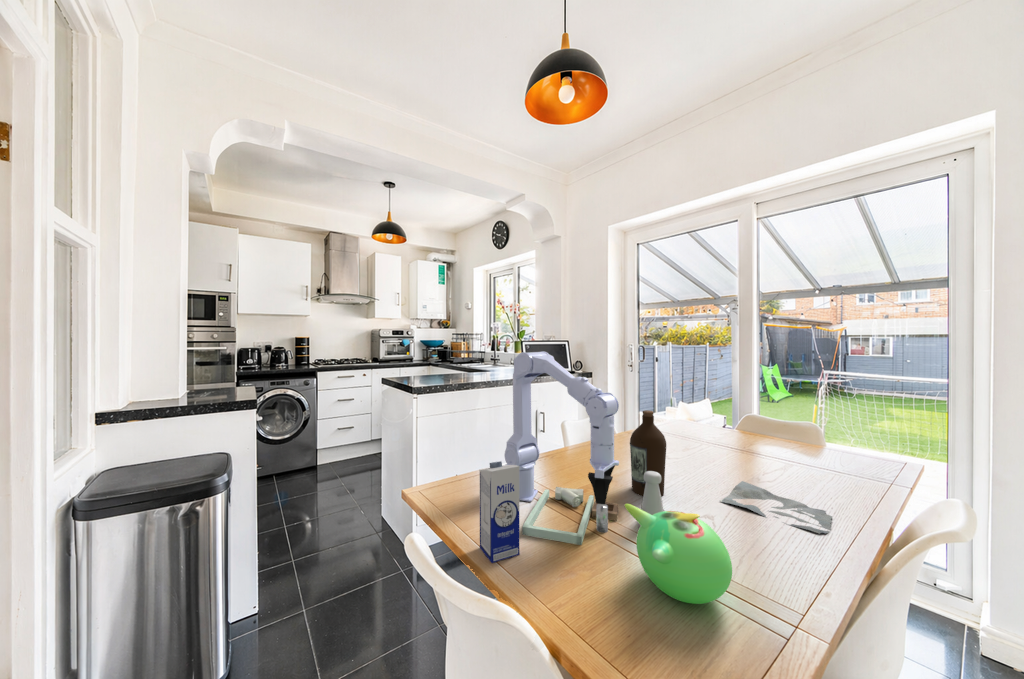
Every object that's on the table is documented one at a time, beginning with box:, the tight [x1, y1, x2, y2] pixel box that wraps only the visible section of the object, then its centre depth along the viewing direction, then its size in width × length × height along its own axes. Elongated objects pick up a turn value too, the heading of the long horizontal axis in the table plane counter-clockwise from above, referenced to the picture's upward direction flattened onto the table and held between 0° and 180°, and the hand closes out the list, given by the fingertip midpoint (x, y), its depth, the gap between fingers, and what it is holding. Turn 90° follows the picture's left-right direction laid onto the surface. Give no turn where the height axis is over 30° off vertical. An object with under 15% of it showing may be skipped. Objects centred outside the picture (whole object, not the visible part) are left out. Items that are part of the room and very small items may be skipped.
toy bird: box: [624, 503, 733, 605], centre depth 73 cm, size 18×17×15 cm
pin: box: [595, 504, 609, 534], centre depth 95 cm, size 3×3×6 cm
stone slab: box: [719, 480, 833, 535], centre depth 106 cm, size 24×16×2 cm, turn 38°
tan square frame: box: [591, 500, 619, 522], centre depth 104 cm, size 6×6×2 cm
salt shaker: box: [640, 471, 665, 515], centre depth 99 cm, size 6×6×13 cm
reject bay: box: [521, 488, 595, 546], centre depth 102 cm, size 14×24×2 cm, turn 161°
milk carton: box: [478, 460, 520, 564], centre depth 86 cm, size 7×7×20 cm
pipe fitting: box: [554, 486, 584, 508], centre depth 110 cm, size 8×4×7 cm
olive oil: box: [629, 409, 667, 497], centre depth 118 cm, size 11×11×25 cm
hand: (602, 496), depth 95 cm, fingers open, 7 cm apart
